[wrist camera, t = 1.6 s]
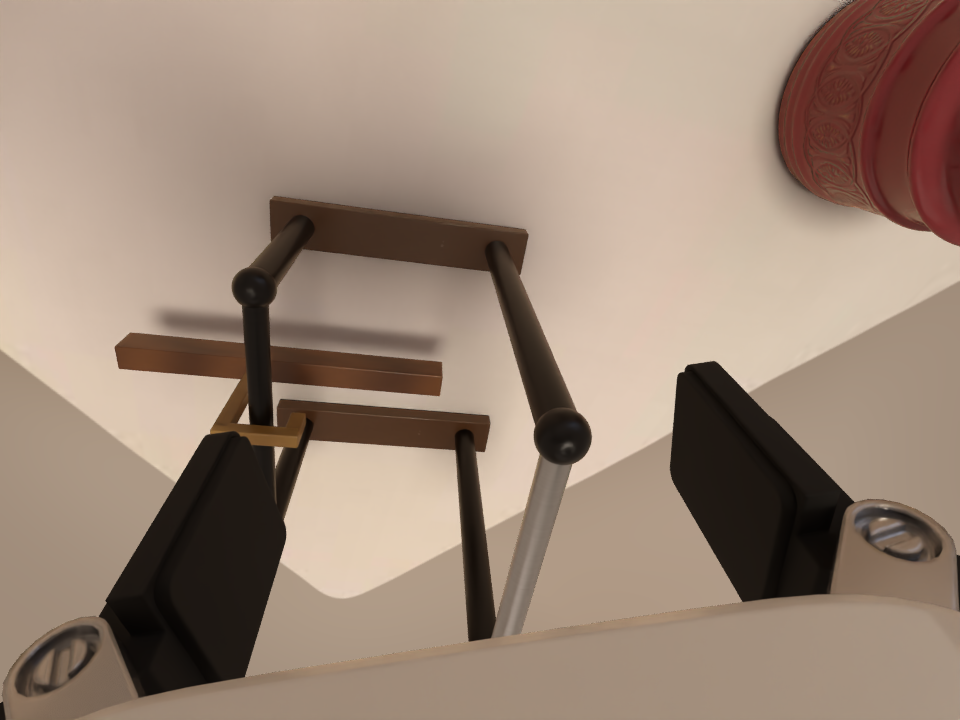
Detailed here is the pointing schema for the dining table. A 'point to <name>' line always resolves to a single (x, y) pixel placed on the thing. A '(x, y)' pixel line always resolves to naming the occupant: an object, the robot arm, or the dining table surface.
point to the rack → (553, 410)
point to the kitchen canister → (881, 113)
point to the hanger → (275, 375)
